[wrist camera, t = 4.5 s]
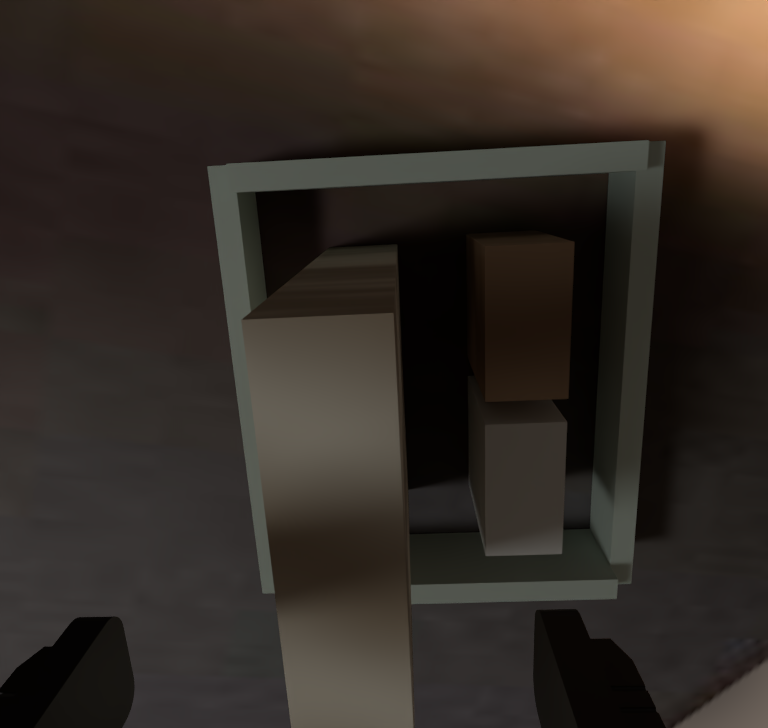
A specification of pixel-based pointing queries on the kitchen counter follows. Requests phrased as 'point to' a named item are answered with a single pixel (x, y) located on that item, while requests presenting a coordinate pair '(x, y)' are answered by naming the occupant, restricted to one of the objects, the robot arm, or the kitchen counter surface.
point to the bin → (615, 371)
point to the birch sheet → (337, 486)
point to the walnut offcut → (519, 314)
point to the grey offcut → (517, 473)
